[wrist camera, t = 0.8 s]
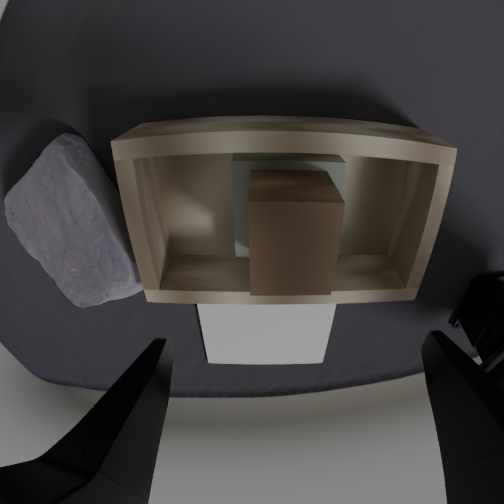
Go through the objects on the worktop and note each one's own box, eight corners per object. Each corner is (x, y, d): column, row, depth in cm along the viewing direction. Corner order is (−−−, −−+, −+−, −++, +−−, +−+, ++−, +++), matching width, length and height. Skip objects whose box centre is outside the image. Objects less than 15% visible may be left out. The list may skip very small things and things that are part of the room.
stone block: (101, 282, 26) (178, 256, 22) (73, 318, 23) (148, 303, 18) (27, 178, 21) (87, 115, 17) (-11, 207, 17) (35, 141, 13)
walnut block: (327, 171, 16) (345, 203, 12) (319, 250, 18) (330, 295, 15) (250, 169, 16) (248, 201, 12) (252, 250, 19) (250, 295, 15)
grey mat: (341, 271, 22) (342, 273, 22) (321, 360, 29) (322, 362, 28) (192, 271, 23) (191, 273, 22) (208, 360, 29) (208, 362, 29)
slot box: (419, 128, 16) (457, 148, 12) (393, 259, 22) (414, 299, 18) (142, 122, 17) (110, 141, 13) (164, 260, 22) (147, 301, 18)
